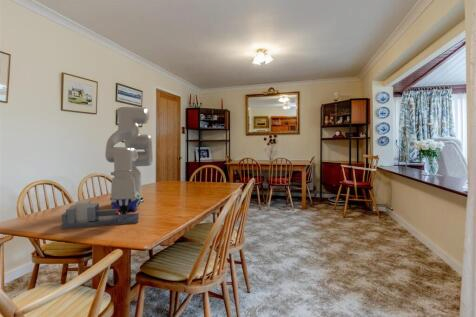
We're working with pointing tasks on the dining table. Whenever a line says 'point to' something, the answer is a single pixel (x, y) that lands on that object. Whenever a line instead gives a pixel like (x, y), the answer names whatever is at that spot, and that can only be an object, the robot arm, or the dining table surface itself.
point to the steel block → (81, 210)
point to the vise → (70, 219)
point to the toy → (131, 205)
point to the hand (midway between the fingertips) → (124, 213)
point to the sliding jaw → (99, 212)
